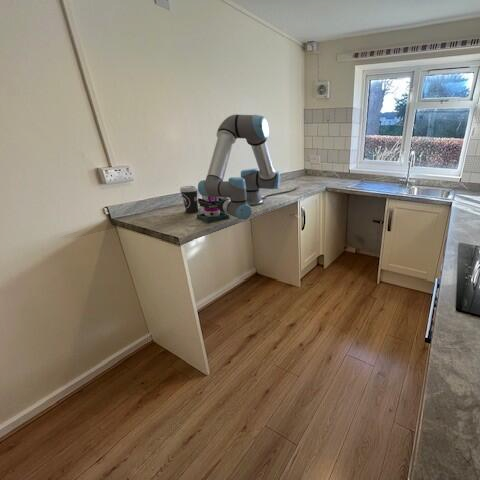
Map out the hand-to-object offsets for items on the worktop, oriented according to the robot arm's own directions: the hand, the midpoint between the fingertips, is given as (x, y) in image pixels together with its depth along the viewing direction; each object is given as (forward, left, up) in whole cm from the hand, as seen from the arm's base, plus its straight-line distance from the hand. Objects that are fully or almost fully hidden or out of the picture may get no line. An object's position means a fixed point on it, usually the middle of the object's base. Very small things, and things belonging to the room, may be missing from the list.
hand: (206, 199), depth 145 cm
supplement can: (0, +5, -8) cm, 10 cm away
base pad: (0, +5, -10) cm, 11 cm away
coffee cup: (+2, -16, -10) cm, 19 cm away
